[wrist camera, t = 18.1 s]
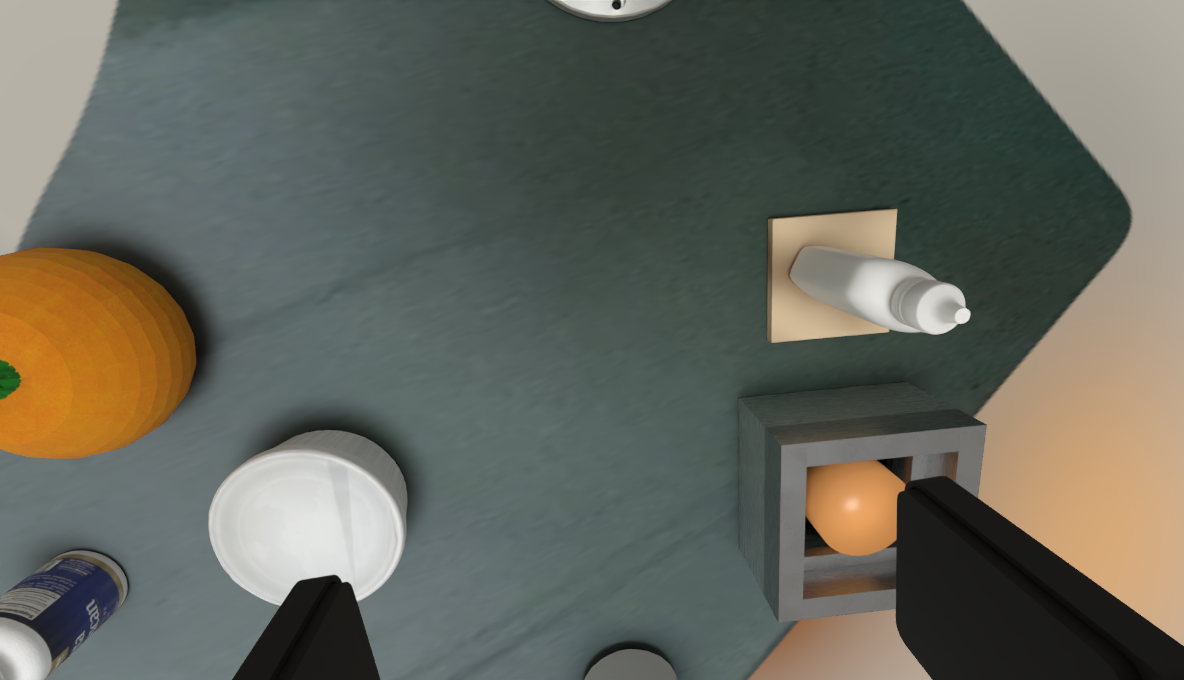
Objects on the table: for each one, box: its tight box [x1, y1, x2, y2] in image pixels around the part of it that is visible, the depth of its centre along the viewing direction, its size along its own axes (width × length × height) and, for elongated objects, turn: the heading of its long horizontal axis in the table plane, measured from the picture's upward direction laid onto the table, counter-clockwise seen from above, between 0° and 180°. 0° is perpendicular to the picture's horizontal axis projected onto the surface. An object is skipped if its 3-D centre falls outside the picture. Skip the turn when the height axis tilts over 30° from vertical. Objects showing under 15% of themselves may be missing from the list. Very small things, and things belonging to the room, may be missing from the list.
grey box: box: [738, 382, 987, 622], centre depth 37 cm, size 12×12×8 cm
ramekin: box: [208, 430, 407, 606], centre depth 36 cm, size 11×11×5 cm
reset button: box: [805, 460, 906, 556], centre depth 37 cm, size 6×6×6 cm
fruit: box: [0, 247, 196, 459], centre depth 30 cm, size 12×12×10 cm
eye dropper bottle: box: [790, 246, 970, 335], centre depth 30 cm, size 4×6×12 cm
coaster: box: [767, 209, 897, 343], centre depth 36 cm, size 8×8×1 cm
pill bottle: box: [0, 551, 128, 680], centre depth 34 cm, size 5×5×10 cm
